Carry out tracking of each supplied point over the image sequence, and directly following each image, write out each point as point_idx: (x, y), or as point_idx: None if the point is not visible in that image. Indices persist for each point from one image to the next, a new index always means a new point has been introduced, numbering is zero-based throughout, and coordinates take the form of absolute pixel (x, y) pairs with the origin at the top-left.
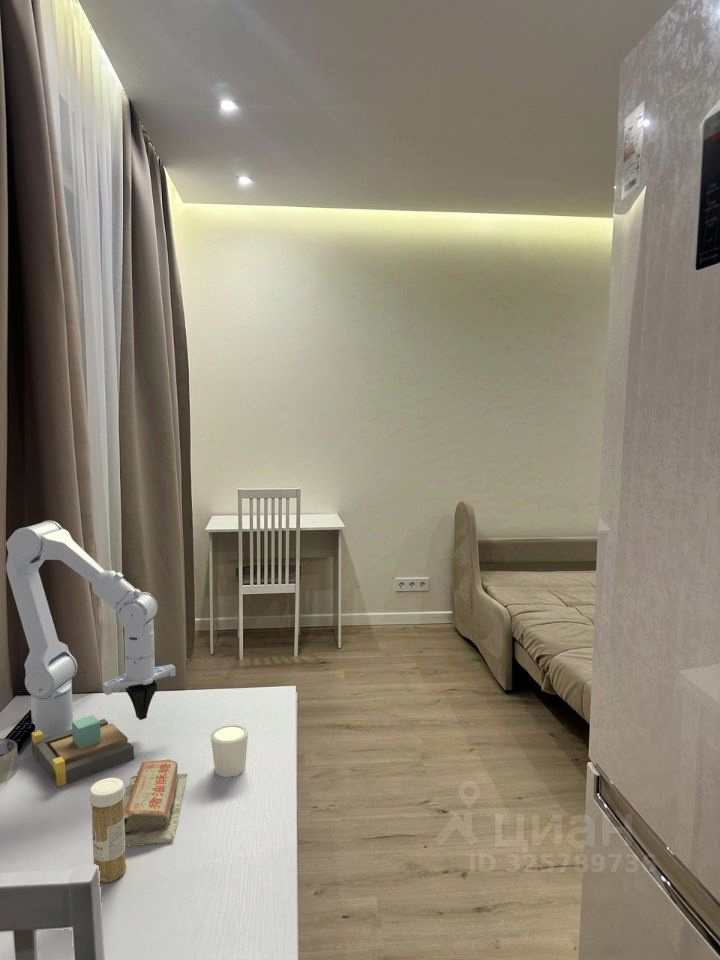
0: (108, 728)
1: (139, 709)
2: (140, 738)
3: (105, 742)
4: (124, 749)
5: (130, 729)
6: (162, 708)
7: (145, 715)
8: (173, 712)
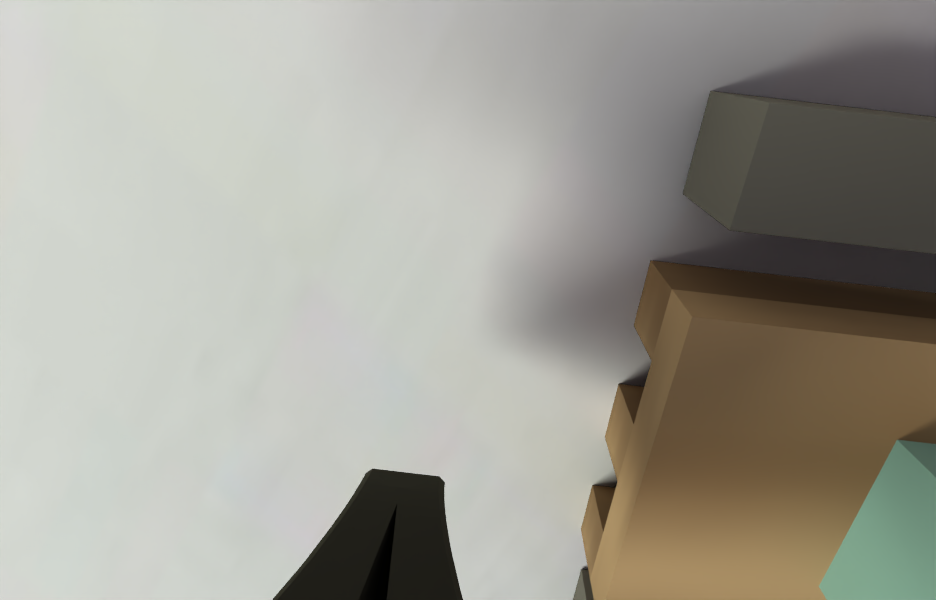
0: (676, 578)
1: (451, 587)
2: (460, 363)
3: (891, 395)
4: (886, 117)
5: None
6: (135, 592)
7: (376, 491)
8: (84, 504)
